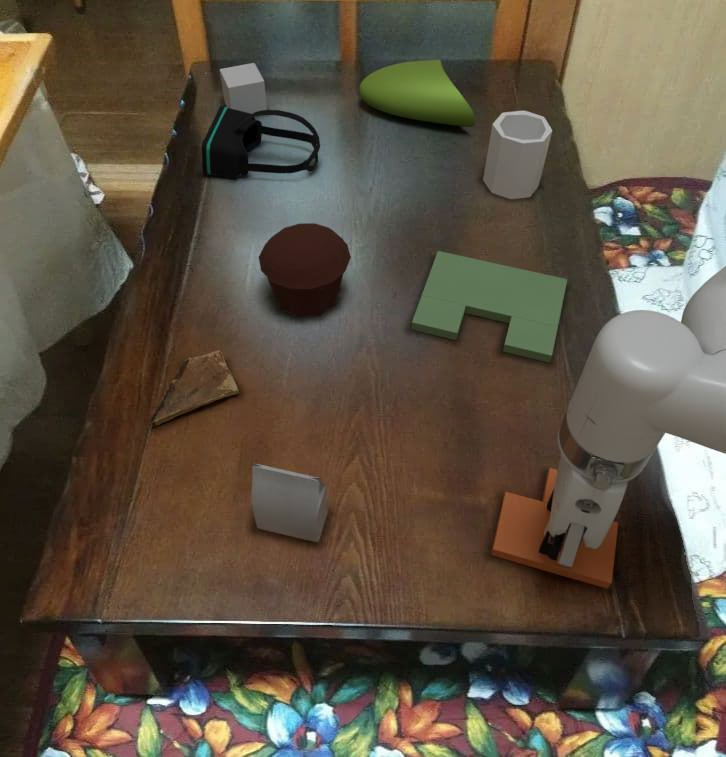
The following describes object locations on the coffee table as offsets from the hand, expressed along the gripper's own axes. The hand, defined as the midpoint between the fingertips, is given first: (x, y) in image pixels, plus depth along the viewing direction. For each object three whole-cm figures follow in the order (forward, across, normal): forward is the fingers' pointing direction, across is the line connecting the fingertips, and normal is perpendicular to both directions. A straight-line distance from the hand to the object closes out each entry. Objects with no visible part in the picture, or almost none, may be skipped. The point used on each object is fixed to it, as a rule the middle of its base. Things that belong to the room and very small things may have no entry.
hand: (558, 531), depth 75 cm
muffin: (+3, +26, +37) cm, 45 cm away
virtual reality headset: (+3, +51, +53) cm, 74 cm away
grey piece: (+3, -6, +27) cm, 28 cm away
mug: (+3, +60, +15) cm, 62 cm away
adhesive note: (+3, +64, +62) cm, 89 cm away
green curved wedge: (+3, +72, +34) cm, 80 cm away
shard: (+3, +6, +43) cm, 43 cm away
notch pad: (+2, +31, +13) cm, 34 cm away
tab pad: (+2, +2, 0) cm, 3 cm away
